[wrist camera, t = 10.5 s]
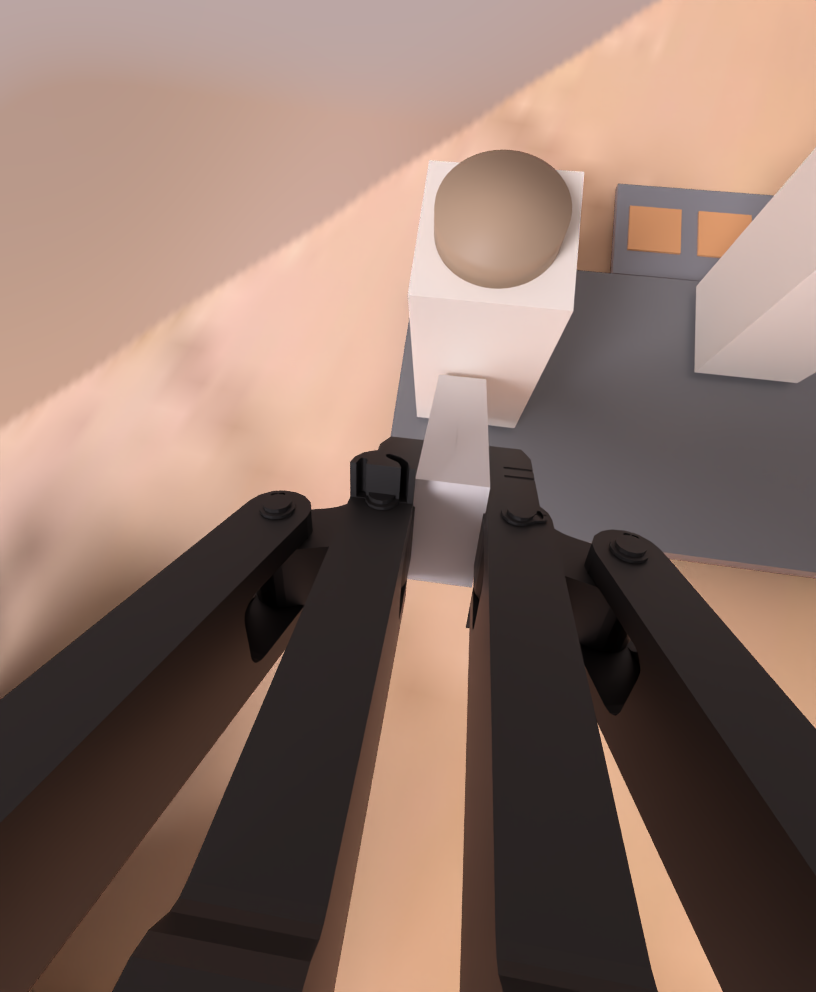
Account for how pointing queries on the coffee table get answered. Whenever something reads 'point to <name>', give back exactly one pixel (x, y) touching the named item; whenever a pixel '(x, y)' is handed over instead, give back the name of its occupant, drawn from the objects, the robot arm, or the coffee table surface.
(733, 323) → the post middle
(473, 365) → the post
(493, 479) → the robot arm
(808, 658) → the coffee table surface
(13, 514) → the coffee table surface
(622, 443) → the button board
